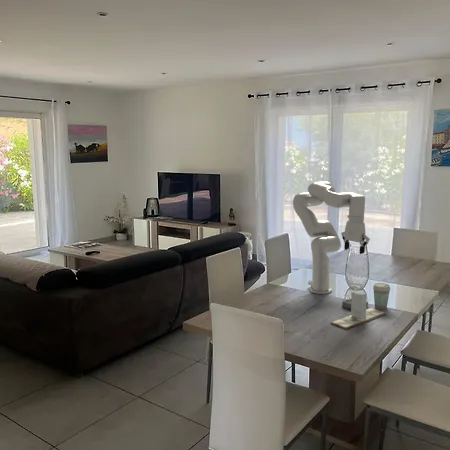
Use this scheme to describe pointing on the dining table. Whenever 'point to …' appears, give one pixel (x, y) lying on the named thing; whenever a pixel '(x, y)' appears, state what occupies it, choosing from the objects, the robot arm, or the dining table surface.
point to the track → (357, 319)
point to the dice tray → (349, 304)
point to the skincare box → (358, 304)
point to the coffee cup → (381, 295)
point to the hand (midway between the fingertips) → (354, 251)
